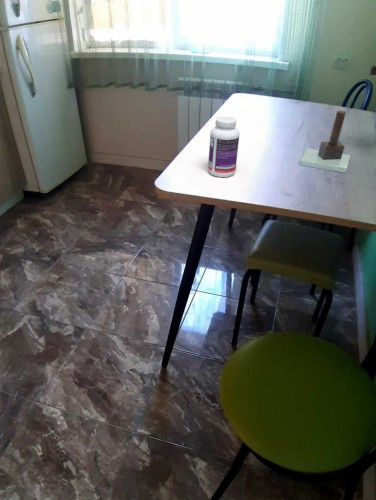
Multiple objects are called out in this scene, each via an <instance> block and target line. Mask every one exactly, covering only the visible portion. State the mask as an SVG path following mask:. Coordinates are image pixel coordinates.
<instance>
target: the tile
mask: <svg viewBox="0 0 376 500" xmlns="http://www.w3.org/2000/svg"><path fill="white" fill-rule="evenodd" d="M318 153H319V149H316V148H310V147H306V148H305V151H304V152H303V154H302V156H301V158H300V161H299V166H303V167H308V168H314V169H320V170H326V171H332V172H338V173H343V174H346V172H347V170H348V166H349V163H350V159H351V154H345V153H343V154H342V157H341V159H332V160H323V159H322V158H321V157H320V156H319V155H318Z"/></svg>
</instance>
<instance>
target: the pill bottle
mask: <svg viewBox="0 0 376 500" xmlns="http://www.w3.org/2000/svg"><path fill="white" fill-rule="evenodd" d="M236 126H237V119H236V118H234V117H231V116H218V117H216V118H215V126H214V127H212V129H211V130H210V133H209V149H208V163H207V164H208V165H207V170H208V173H209V174H210V175H212V176H215V177H218V178H228V177H231V176H233V175H234V174H235V173H236V171H237V163H238V162H237V161H238V152H239V151H238V150H239V144H240V143H239V142H240V131H239V130H238V128H237V127H236Z"/></svg>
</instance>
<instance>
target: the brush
mask: <svg viewBox="0 0 376 500" xmlns="http://www.w3.org/2000/svg"><path fill="white" fill-rule="evenodd" d="M346 114H347V112H346V111H345V110H337V111H336V113H335V117H334V120H333V125H332V129H331V133H330V137H329V140H328V141H321V142H320V146H319V149H318V150H319V153H318V155H319V156H320V157H321V158H322V159H323V160H332V159H341V157H342V154H344V149H345V148H346V147H345V145H344V144H343V143H341V141H339V140H340V136H341V132H342V129H343V125H344V122H345V118H346Z"/></svg>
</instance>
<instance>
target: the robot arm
mask: <svg viewBox="0 0 376 500" xmlns="http://www.w3.org/2000/svg"><path fill="white" fill-rule="evenodd" d="M369 75H370V76H376V65H372V66H371V68H370V72H369Z"/></svg>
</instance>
